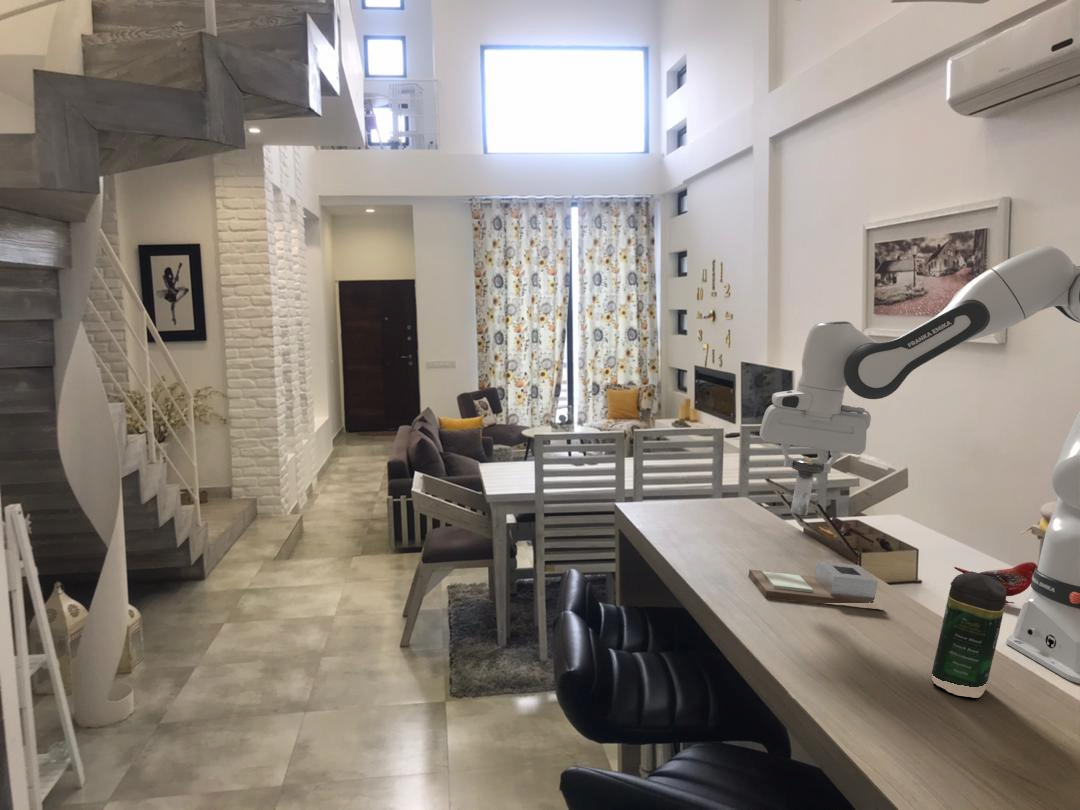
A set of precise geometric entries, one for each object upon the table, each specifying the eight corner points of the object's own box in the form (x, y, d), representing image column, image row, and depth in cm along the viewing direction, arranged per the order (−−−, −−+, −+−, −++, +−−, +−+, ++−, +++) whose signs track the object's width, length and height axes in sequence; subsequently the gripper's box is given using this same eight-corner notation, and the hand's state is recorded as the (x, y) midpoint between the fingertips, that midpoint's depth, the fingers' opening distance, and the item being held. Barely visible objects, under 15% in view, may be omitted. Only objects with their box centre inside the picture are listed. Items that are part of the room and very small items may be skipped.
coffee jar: (981, 707, 123) (1006, 592, 121) (926, 687, 128) (948, 576, 125) (988, 686, 131) (1012, 578, 129) (936, 668, 136) (957, 563, 133)
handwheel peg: (811, 511, 166) (820, 458, 164) (816, 519, 160) (826, 464, 158) (781, 506, 166) (790, 454, 165) (786, 514, 160) (795, 459, 159)
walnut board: (883, 610, 160) (885, 600, 160) (765, 598, 159) (767, 587, 159) (858, 588, 172) (860, 578, 172) (748, 576, 171) (749, 566, 171)
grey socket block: (874, 599, 161) (877, 580, 161) (830, 595, 161) (834, 576, 160) (855, 583, 170) (859, 565, 170) (814, 578, 170) (817, 560, 169)
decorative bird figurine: (1037, 611, 172) (1047, 566, 170) (950, 596, 174) (959, 552, 173) (1031, 606, 175) (1041, 562, 173) (946, 591, 177) (955, 548, 176)
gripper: (868, 407, 161) (856, 473, 163) (764, 392, 164) (753, 458, 166) (876, 411, 155) (863, 480, 157) (768, 396, 158) (757, 464, 160)
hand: (806, 469), depth 162 cm, fingers closed on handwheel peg, 6 cm apart
